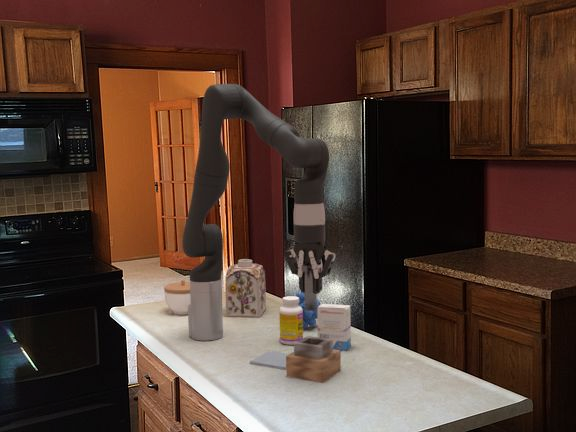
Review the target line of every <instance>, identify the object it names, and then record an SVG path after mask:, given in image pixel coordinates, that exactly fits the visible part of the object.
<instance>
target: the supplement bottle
mask: <svg viewBox="0 0 576 432" xmlns="http://www.w3.org/2000/svg"><path fill="white" fill-rule="evenodd" d="M282 303H283V304H282V305H281V306H280V308H279V310H278V311H279V342H280V343H281V344H283V345H288V346H294V343H296V342H298V341H299V340H301V339H303V338H304V329H303V310H302V308H301V307H300V306H299V305H298V303H299V297H296V295H287V296H284V297H282Z"/></svg>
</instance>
